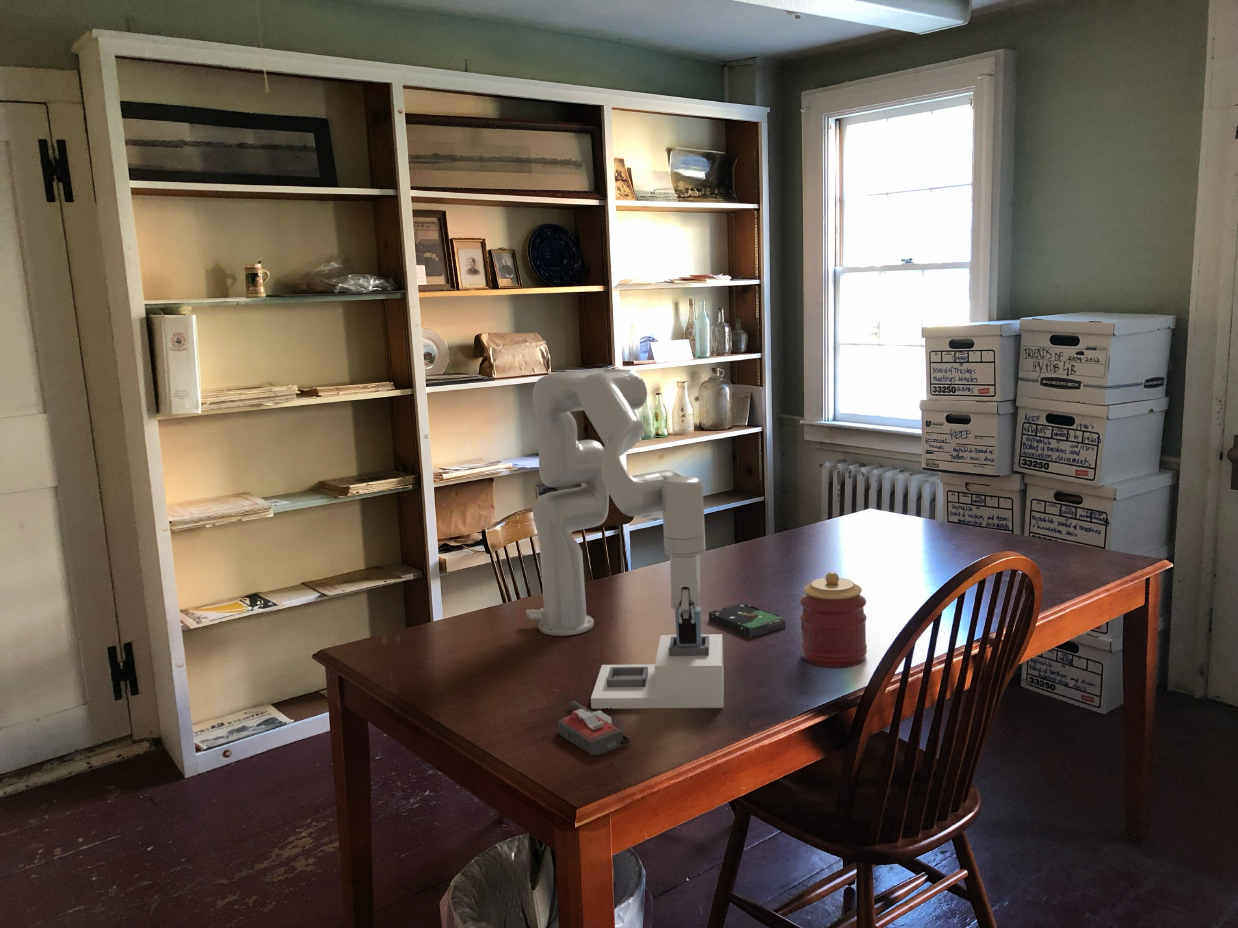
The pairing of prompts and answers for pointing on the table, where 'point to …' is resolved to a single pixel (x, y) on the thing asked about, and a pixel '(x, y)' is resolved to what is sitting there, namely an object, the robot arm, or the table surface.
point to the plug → (698, 628)
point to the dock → (666, 678)
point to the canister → (833, 622)
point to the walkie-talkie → (591, 730)
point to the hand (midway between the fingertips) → (689, 634)
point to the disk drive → (747, 620)
